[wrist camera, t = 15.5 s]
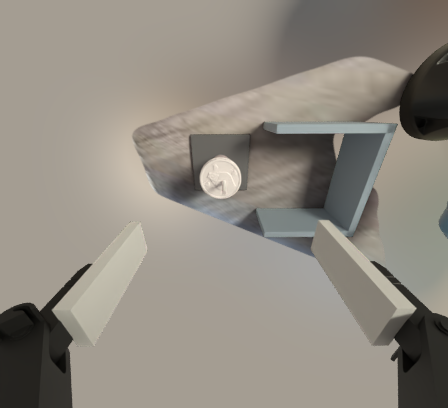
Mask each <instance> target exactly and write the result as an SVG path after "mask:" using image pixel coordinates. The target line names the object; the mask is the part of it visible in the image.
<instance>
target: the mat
mask: <svg viewBox="0 0 448 408" xmlns="http://www.w3.org/2000/svg"><path fill="white" fill-rule="evenodd" d="M249 144H250V134H194V135H191V146H192V158H193V170H194V182H195V190H203V189H202V187H201V184H200V172H201V169H202V167H203V166H204V165H205V164H206V163H207V162H208V161H209V160H211V159H213V158H214V157H216V156H217V155H224V156H226V157H227V158H228V159H230V160H231V161H233V162H234V163H235V164H236V165H237V166H238V168H239V170H240V173H241V185H240V187H239V189H238V190H247V178H248V161H249Z"/></svg>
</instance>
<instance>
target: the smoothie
mask: <svg viewBox="0 0 448 408" xmlns="http://www.w3.org/2000/svg"><path fill="white" fill-rule="evenodd" d="M200 184H201V187H202V189H203V190H204V191H205V193H206V194H208V195H209V196H211V197H213V198H217V199H224V198H228V197H230V196H232V195H233V194H235V193H236V192H237V190H238V189H239V187H240V185H241V173H240V170H239V168H238V166H237V165H236V164H235V163H234V162H233V161H231V160H230V159H228V158H227V157H226V156H224V155H217V156H216V157H214V158H213V159H211V160H209V161H208V162H207V163H206V164H205V165H204V166H203V167H202V169H201V172H200Z"/></svg>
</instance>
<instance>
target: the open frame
mask: <svg viewBox="0 0 448 408" xmlns="http://www.w3.org/2000/svg"><path fill="white" fill-rule="evenodd" d="M397 125H398V124H392V123H372V122H264V127H263V129H265V130H268V131H270V132H273V133H276V134H308V133H345V134H344V137H343V141H342V144H341V148H340V151H339V155H338V158H337V162H336V165H335V169H334V173H333V176H332V180H331V183H330V187H329V190H328V194H327V197H326V201H325V204H324V208H277V209H256V215H257V218H258V221H259V224H260V227H261V230H262V233H263V236H264V237H314V235H315V231H316V227H317V223H318V220H329V221H330V222H331V223H332V224H333V225H334V226H335V227H336V228H337V229H338V230H339V231H340V232H341V233H342V234H343V235H344V236H345V237H353V235H354V232H355V230H356V227H357V225H358V222H359V220H360V217H361V215H362V212H363V210H364V207H365V205H366V202H367V200H368V197H369V195H370V192H371V190H372V187H373V185H374V182H375V179H376V177H377V175H378V172H379V170H380V167H381V165H382V162H383V160H384V157H385V155H386V152H387V150H388V147H389V145H390V142H391V140H392V137H393V135H394V132H395V130H396V127H397Z"/></svg>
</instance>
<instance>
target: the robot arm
mask: <svg viewBox="0 0 448 408" xmlns="http://www.w3.org/2000/svg"><path fill="white" fill-rule="evenodd" d="M399 113H400V122H401V125H402V127H403V129H404V130H405V132H406V133H407V134H409V135H410V136H412V137H414V138H417V139H423V140H431V141H439V140H448V43H447V44H445V45H444V46H442V47H441V48H439V49H438V50H436V51H435V52H434V53H433V54H432V55H431V56H429V57H428V58H427V59H426V60H425V61H424V62H423V63H422V65H421V66H420V67H419V68H418V69H417V71H416V72H415V73H414V75H413V76H412V78H411V79H410V81H409V83H408V85H407V87H406V89H405V91H404V93H403V96H402V100H401V104H400V112H399ZM439 227H440V229H441V231H442V232H443V233H444V235H445V236H446V237H447V238H448V203H447V207H446V209H445V211H444V212H443V214H442V216H441V217H440V219H439ZM147 251H148V249H147V245H146V242H145V238H144V234H143V230H142V226H141V223H140V222H129V224H128V225H127V226H126V227H125V228H124V229H123V230H122V232H121V233H120V234H119V235H118V236H117V237H116V238H115V239H114V241H113V242H112V243H111V244H110V245H109V246H108V247H107V249H106V250H105V251H104V252H103V253H102V254H101V255H100V256H99V258H98V259H97V260H96V261H95V262H94V263H93V264H87V265H86V266H84V267H83V268H82V269H80V270H79V271H77V273H76V274H75V275H74V276H73V277H72V278H71V280H69V281H68V282H67V283H66V284H65V285H64V287H63V288H61V290H60V291H59V292H58V293H57V294H56V295H55V296H54V297H53V298H52V299H51V300H50V301H49V302H48V303H47V304H46V306H45V307H44V308H43V309H42V310H41V311H40V312H39V310H38V309H37V308H36V306H35V305H34V304H32V303H23V304H19V305H16V306H14V307H12V308H10V309H8V310H6V311H4V312H3V313H2V314H0V408H72V392H71V371H70V370H71V369H70V352H69V349H68V346H69V345H70V343H71V342H72V340H74V342H75V343H76V345H77V346H94V345H95V343H96V341H97V340H98V338H99V336H100V334H101V333H102V331H103V329H104V328H105V326H106V324H107V322H108V320H109V319H110V317H111V315H112V313H113V311H114V310H115V308H116V306H117V304H118V303H119V301H120V299H121V297H122V296H123V294H124V292H125V290H126V289H127V287H128V285H129V283H130V282H131V280H132V278H133V276H134V274H135V272H136V271H137V269H138V267H139V266H140V264H141V262H142V260H143V259H144V257H145V255H146V253H147ZM311 251H312V252H313V254H314V256H315V257H316V259H317V260H318V262H319V263H320V265H321V266H322V268H323V269H324V271H325V273H326V274H327V276H328V277H329V279H330V281H331V282H332V284H333V285H334V286H335V288H336V290H337V291H338V293H339V294H340V296H341V298H342V299H343V301H344V302H345V304H346V306H347V307H348V309H349V310H350V312H351V313H352V315H353V317H354V318H355V320H356V321H357V323H358V324H359V326H360V327H361V329H362V331H363V332H364V334H365V335H366V337H367V338H368V340H369V342H370V343H371V345H389V344H390V343H391V341H392V340H393V339H394V338H395V340H396V341H397V342H398V344H399V345H400V346H399V348H398V349H397V350H396V351H395V353H394V354H393V355H392V357H391V360H392V361H395V359H396V358H397V357H398V408H448V318H447V317H445V316H442V315H440V314H437V313H432V312H431V311H430V310H429V309H428V308H427V307H426V306H425V305H424V304H423V303H422V302H420V301H419V300H418V299H417V298H416V297H415V296H414V295H413V294H412V293H411V292H410V291H409V290H408V289H407V288H406V287H404V285H401V282H399V281H398V280H397V279H396V278H394V276H393V275H392V274H391V273H390V272H389V271H388V270H387V269H386V268H384V267H383V266H381V265H380V264H378V263H377V262H375V261H369V260H368V259H367V258H366V257H365V256H364V255H363V254H362V253H361V252H360V251H359V250H358V249H357V248H356V247H355V246H354V245H353V244H352V243H351V242H350V241H349V240H348V239H347V238H346V237H345V236H344V235H343V234H342V233H341V232H340V231H339V230H338V229H337V228H336V227H335V226H334V225H333V224H332V223H331V222H330V221H329V220H318V223H317V227H316V231H315V235H314V238H313V242H312V246H311Z"/></svg>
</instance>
